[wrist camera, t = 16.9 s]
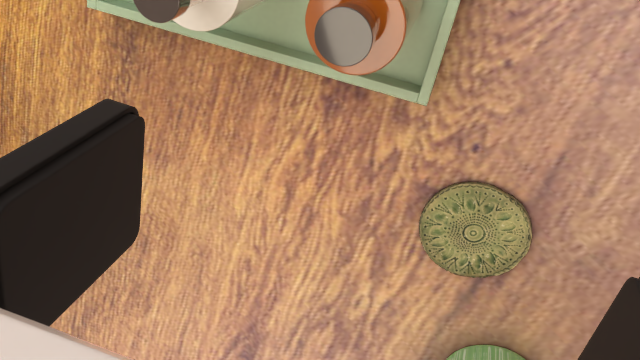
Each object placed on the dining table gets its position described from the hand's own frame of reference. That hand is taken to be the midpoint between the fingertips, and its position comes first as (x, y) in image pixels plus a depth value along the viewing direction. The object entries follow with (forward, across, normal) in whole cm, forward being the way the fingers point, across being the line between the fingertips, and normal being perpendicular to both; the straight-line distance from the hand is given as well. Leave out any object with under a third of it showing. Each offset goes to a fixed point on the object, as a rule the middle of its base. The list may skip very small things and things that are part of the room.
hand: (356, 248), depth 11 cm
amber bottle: (+28, +4, +2) cm, 29 cm away
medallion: (+29, -6, +16) cm, 34 cm away
